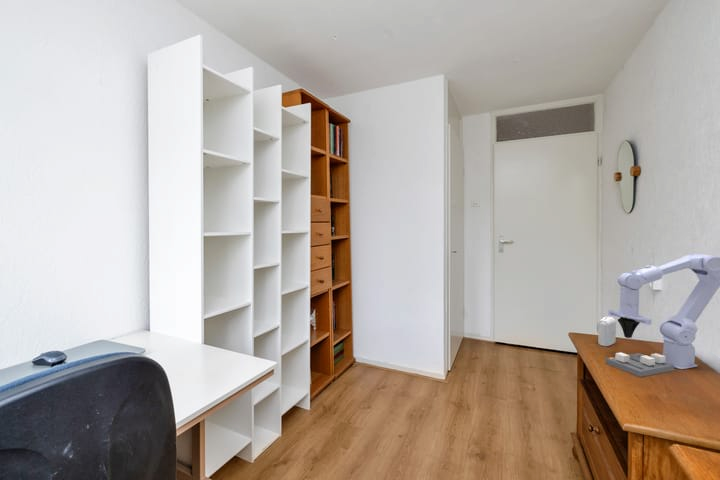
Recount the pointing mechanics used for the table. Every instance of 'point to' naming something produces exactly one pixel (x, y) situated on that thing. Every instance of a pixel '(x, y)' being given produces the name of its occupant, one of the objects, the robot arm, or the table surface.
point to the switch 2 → (658, 358)
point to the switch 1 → (622, 357)
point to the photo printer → (607, 331)
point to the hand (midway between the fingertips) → (628, 337)
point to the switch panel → (639, 366)
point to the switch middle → (647, 360)
